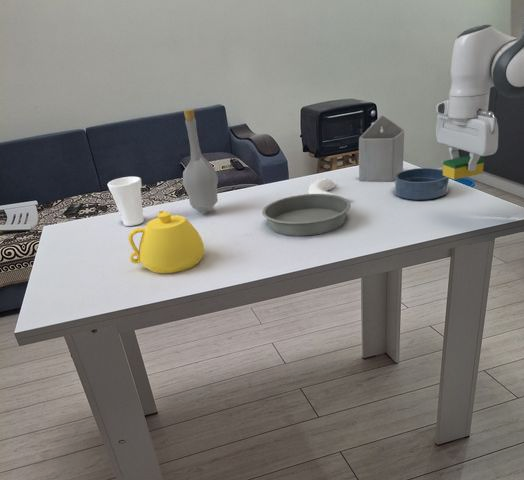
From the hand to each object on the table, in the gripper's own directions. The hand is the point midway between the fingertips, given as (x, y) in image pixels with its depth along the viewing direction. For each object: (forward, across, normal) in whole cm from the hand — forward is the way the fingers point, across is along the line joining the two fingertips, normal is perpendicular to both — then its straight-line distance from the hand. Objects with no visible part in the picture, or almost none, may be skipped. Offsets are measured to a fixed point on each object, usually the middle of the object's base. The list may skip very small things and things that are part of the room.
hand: (462, 167), depth 132 cm
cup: (+13, +51, +80) cm, 96 cm away
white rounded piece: (+14, +39, +19) cm, 46 cm away
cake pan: (+14, +22, +34) cm, 43 cm away
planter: (+14, +46, -4) cm, 49 cm away
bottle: (+13, +47, +58) cm, 76 cm away
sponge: (+2, 0, 0) cm, 2 cm away
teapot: (+13, +15, +74) cm, 77 cm away
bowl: (+14, +27, -5) cm, 31 cm away
